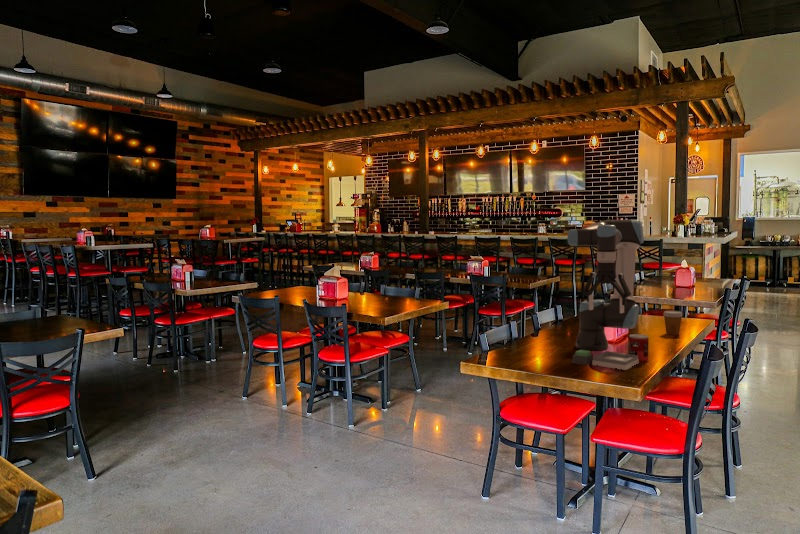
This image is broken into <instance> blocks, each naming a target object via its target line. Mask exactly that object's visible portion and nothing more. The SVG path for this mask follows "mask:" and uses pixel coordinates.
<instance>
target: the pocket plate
mask: <svg viewBox="0 0 800 534" xmlns="http://www.w3.org/2000/svg"><path fill="white" fill-rule="evenodd" d="M639 363H640V362H639V359H638V355H631V354H629V353H624V352H616V351H608V350H606V351H603V352H601V353H599V354H597V355H593V360H592V363H591V365H592V366H596V365H598V367H604V368H610V369H615V368H617V370H621V369H622V370H623V371H627V370H629V369H631V368H633V367H634V365H635V366H636V364H637V365H638V364H639ZM632 366H633V367H632Z"/></svg>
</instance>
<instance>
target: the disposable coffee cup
mask: <svg viewBox="0 0 800 534" xmlns="http://www.w3.org/2000/svg"><path fill="white" fill-rule="evenodd" d="M662 314H663V317H664V318H663V319H664V325H665V326H664V327H665V333H667V334H666V335H668V334H670V336H678V335H680V330H681V326H682V325H681V323H682V318H683V312H682V311H679V310H665V311H664V312H663V313H662Z"/></svg>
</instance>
